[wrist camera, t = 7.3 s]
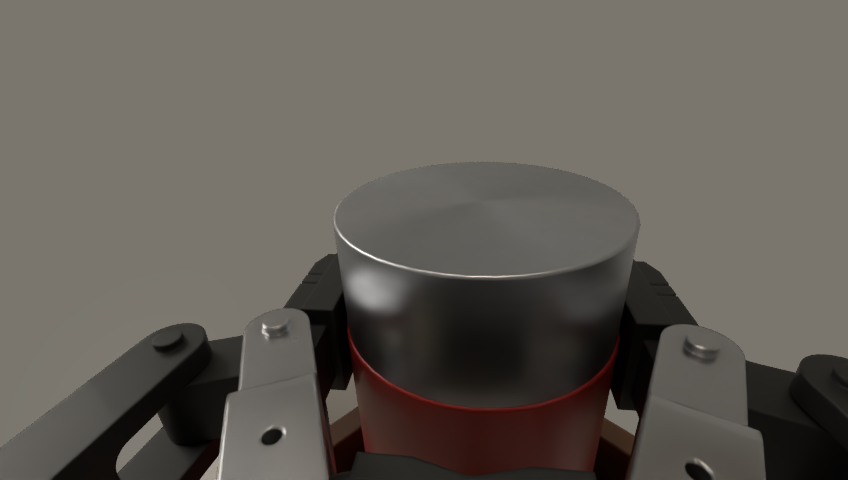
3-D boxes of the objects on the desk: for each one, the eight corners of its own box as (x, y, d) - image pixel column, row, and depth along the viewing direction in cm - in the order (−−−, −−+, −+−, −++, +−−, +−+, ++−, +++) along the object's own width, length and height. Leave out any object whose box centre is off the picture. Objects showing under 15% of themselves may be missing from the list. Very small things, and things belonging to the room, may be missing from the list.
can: (609, 531, 13) (695, 196, 8) (485, 724, 10) (509, 336, 5) (467, 419, 17) (468, 149, 12) (343, 526, 14) (275, 206, 9)
